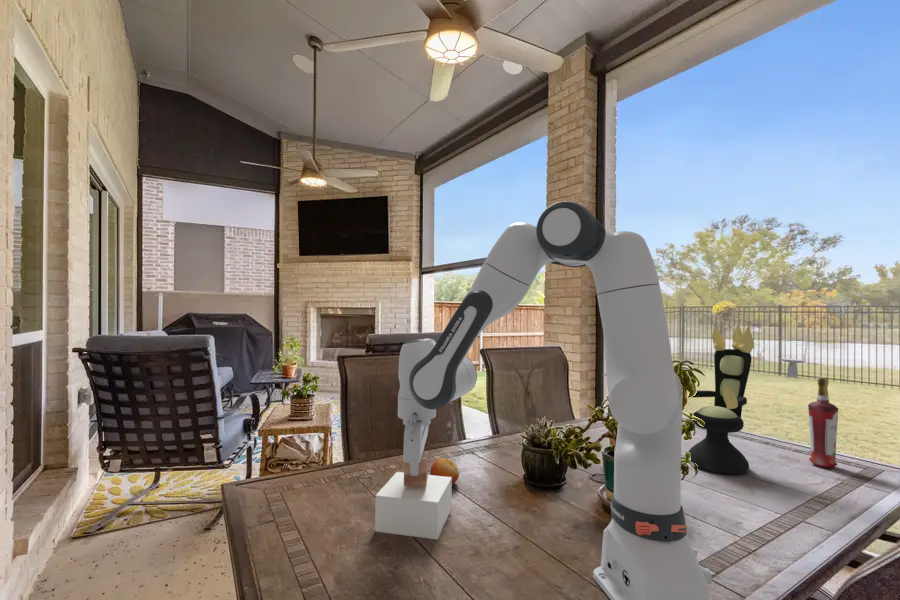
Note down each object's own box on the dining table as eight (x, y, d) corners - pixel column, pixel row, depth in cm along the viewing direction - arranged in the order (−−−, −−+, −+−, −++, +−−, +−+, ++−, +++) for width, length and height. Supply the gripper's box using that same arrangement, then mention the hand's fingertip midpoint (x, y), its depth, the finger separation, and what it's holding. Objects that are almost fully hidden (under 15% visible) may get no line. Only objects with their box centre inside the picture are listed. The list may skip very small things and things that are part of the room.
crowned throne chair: (669, 459, 142) (670, 322, 143) (713, 451, 151) (714, 322, 152) (727, 480, 125) (727, 324, 126) (773, 469, 134) (773, 324, 135)
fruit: (427, 472, 125) (442, 449, 124) (450, 488, 123) (465, 465, 122) (420, 483, 117) (435, 459, 116) (444, 501, 115) (460, 476, 115)
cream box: (437, 540, 91) (438, 502, 91) (375, 532, 94) (375, 495, 94) (451, 510, 105) (451, 477, 105) (396, 504, 108) (396, 471, 108)
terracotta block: (425, 486, 97) (426, 459, 97) (403, 485, 97) (404, 458, 97) (427, 477, 102) (427, 451, 102) (406, 477, 102) (406, 451, 102)
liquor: (813, 460, 143) (813, 375, 144) (842, 467, 137) (842, 378, 138) (804, 464, 140) (804, 377, 140) (833, 471, 133) (833, 380, 134)
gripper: (427, 420, 90) (426, 488, 89) (433, 399, 110) (432, 454, 110) (396, 420, 90) (395, 487, 89) (408, 399, 110) (407, 454, 110)
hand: (416, 469), depth 100 cm, fingers open, 5 cm apart
